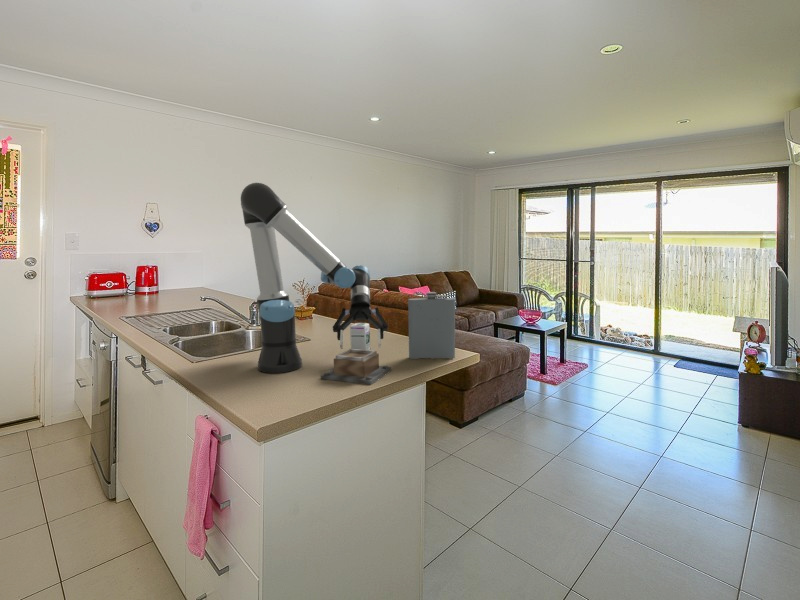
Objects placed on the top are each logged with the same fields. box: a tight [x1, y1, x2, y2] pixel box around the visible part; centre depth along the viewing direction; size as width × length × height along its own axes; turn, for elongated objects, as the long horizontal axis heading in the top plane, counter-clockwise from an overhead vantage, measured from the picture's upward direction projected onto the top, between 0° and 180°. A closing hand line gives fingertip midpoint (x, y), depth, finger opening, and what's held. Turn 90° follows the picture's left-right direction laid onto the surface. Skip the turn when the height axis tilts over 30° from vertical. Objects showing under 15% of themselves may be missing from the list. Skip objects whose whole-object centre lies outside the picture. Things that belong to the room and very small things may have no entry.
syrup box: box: [349, 322, 371, 350], centre depth 154 cm, size 6×6×14 cm
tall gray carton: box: [407, 291, 456, 360], centre depth 161 cm, size 17×5×25 cm, turn 88°
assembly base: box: [320, 348, 392, 385], centre depth 141 cm, size 18×16×7 cm
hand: (360, 346), depth 152 cm, fingers open, 13 cm apart
